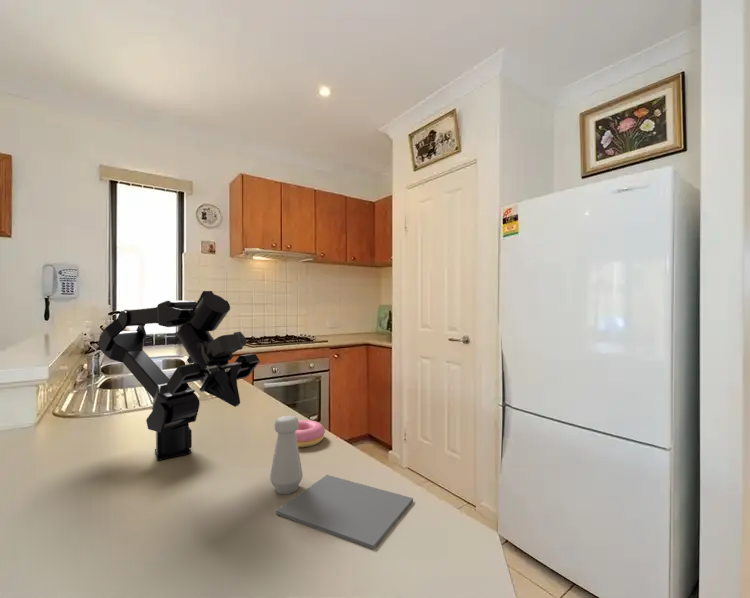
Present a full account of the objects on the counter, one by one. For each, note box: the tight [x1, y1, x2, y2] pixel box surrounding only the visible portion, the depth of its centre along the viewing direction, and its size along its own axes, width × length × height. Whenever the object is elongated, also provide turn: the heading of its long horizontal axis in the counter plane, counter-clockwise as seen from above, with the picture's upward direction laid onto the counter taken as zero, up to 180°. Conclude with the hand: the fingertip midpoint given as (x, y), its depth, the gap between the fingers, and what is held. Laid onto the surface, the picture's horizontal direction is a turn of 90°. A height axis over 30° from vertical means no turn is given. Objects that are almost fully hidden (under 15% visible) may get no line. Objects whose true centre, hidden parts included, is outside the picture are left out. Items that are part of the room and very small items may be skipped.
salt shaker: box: [269, 415, 303, 495], centre depth 69 cm, size 6×6×13 cm
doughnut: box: [295, 419, 326, 449], centre depth 92 cm, size 11×11×4 cm
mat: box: [275, 474, 414, 550], centre depth 63 cm, size 18×14×1 cm
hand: (237, 405), depth 75 cm, fingers closed
